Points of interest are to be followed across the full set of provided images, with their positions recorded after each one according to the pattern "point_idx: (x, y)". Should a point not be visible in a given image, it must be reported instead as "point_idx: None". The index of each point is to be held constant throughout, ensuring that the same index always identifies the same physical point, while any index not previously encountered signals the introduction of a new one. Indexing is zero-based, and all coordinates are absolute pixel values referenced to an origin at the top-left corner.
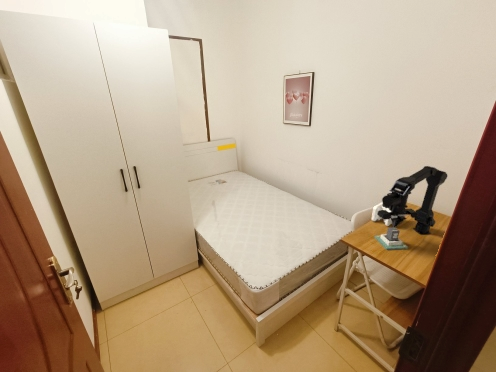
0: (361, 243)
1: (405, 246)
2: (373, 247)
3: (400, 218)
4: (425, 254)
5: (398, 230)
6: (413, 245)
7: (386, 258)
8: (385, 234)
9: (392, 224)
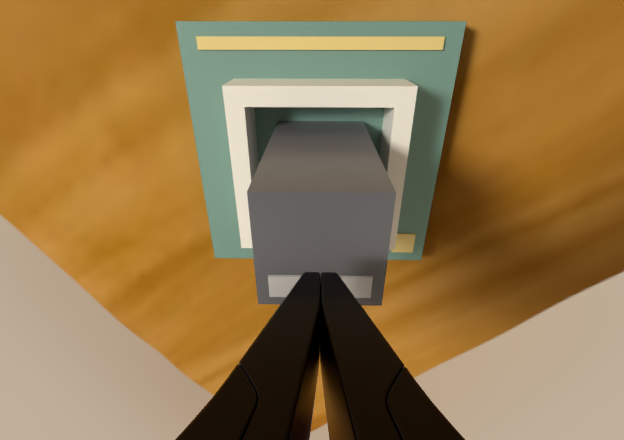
0: (3, 137)
1: (401, 251)
2: (115, 207)
3: None
4: (489, 314)
5: (380, 287)
6: (509, 214)
7: (175, 324)
8: (287, 91)
9: (283, 303)
